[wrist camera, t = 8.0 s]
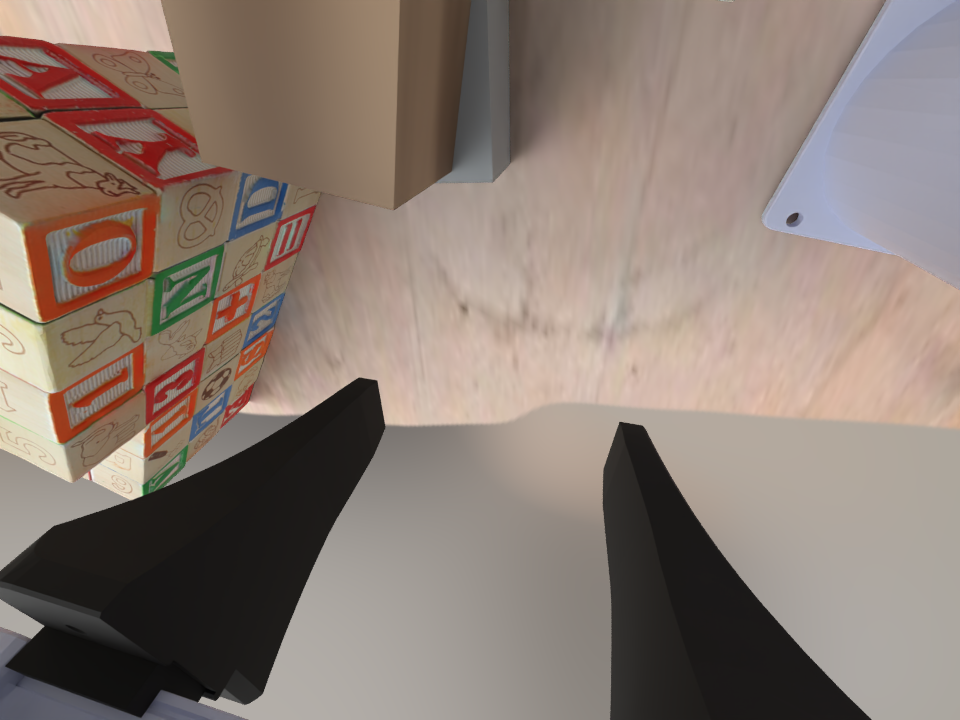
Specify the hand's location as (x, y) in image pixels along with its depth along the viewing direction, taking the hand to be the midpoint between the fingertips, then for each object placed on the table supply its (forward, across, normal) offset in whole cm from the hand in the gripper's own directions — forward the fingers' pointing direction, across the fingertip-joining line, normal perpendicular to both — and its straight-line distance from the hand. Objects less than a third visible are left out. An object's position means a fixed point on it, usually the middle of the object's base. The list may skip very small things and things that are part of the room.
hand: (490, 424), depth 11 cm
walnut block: (+6, +5, -9) cm, 11 cm away
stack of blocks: (+10, +17, +2) cm, 20 cm away
